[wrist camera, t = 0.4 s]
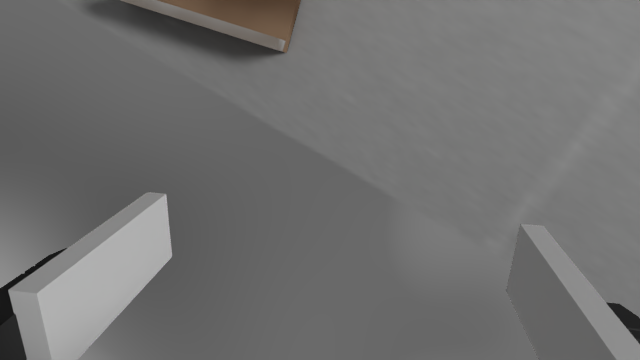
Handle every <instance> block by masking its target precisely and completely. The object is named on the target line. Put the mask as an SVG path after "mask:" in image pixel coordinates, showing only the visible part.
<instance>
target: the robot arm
mask: <svg viewBox="0 0 640 360" xmlns="http://www.w3.org/2000/svg"><path fill="white" fill-rule="evenodd" d="M171 257H172V251H171V242H170V230H169V220H168V209H167V199H166V194H162V193H150V192H147V193H146V194H144V195H143V196H141V197H140V198H138V199H137V200H136V201H134V202H133V203H132V204H130V205H129V206H127V207H126V208H125V209H123V210H121V211H120V212H119V213H117V214H116V215H114V216H113V217H111V218H110V219H109V220H107V221H106V222H104V223H103V224H102V225H100V226H99V227H97V228H96V229H95V230H93V231H92V232H90V233H89V234H87V235H86V236H84V237H83V238H82V239H80V240H79V241H77V242H76V243H74V244H73V245H72V246H70V247H69V248H65V249H63V250H61V251H58V252H56V253H53V254H51V255H49V256H47V257H46V258H44V259H43V260H42V261H40V262H38V263H37V264H36V265H35V266H33V267H31V268H30V269H28V270H27V271H25V273H24V274H21V275H20V276H18V277H16V278H15V279H14V280H12V281H11V282H9V283H8V284H6V285H5V286H3V287H2V288H0V360H78V359H79V357H80V356H81V355H82V354H83V353H84V352H85V351H86V350H87V349H88V348H89V347H90V346H91V344H92V343H93V342H94V341H95V340H96V339H97V338H98V337H99V336H100V335H101V333H102V332H103V331H104V330H105V329H106V328H107V327H108V326H109V325H110V324H111V323H112V321H113V320H114V319H115V318H116V317H117V316H118V315H119V314H120V313H121V312H122V311H123V309H124V308H125V307H126V306H127V305H128V304H129V303H130V302H131V301H132V300H133V299H134V298H135V296H136V295H137V294H138V293H139V292H140V291H141V290H142V289H143V288H144V287H145V285H146V284H147V283H148V282H149V281H150V280H151V279H152V278H153V277H154V276H155V275H156V273H157V272H158V271H159V270H160V269H161V268H162V267H163V266H164V265H165V264H166V262H167V261H168V260H169V259H170V258H171ZM506 292H507V294H508V296H509V298H510V300H511V302H512V304H513V306H514V309H515V311H516V313H517V315H518V317H519V319H520V321H521V323H522V325H523V328H524V330H525V332H526V334H527V336H528V338H529V340H530V342H531V344H532V346H533V349H534V351H535V353H536V355H537V357H538V359H539V360H640V318H639V317H638V316H636V315H635V314H633V313H632V312H630V311H629V310H628V309H626V308H625V307H623V306H622V305H620V304H615V303H606V302H605V301H604V300H603V299H602V297H601V296H600V295H599V294H598V292H597V291H596V290H595V289H594V288H593V286H592V285H591V284H590V283H589V281H588V280H587V279H586V278H585V277H584V275H583V274H582V273H581V272H580V270H579V269H578V268H577V267H576V265H575V264H574V263H573V262H572V261H571V259H570V258H569V257H568V256H567V254H566V253H565V252H564V251H563V250H562V248H561V247H560V246H559V245H558V243H557V242H556V241H555V240H554V238H553V237H552V236H551V235H550V234H549V232H548V231H547V230H546V229H545V227H544V226H539V225H527V224H520V228H519V232H518V237H517V242H516V246H515V251H514V256H513V261H512V265H511V270H510V275H509V279H508V285H507V289H506Z"/></svg>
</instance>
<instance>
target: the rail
mask: <svg viewBox="0 0 640 360" xmlns="http://www.w3.org/2000/svg"><path fill="white" fill-rule="evenodd" d="M120 1H124V2H127V3H130V4H133V5H136V6H139V7H142V8H146V9H149V10H152V11H155V12H158V13H161V14H165V15H168V16H171V17H174V18H177V19H180V20H183V21H187V22H190V23H193V24H196V25H199V26H202V27H205V28H209V29H212V30H215V31H218V32H221V33H224V34H227V35H231V36H234V37H237V38H240V39H243V40H246V41H250V42H253V43H256V44H259V45H262V46H265V47H268V48H272V49H275V50H279V51H282V52H286V53H287V49H288V46H289V42H290V38H291V35H292V31H293V27H294V23H295V20H296V16H297V12H298V9H299V5H300V1H301V0H120Z"/></svg>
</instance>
